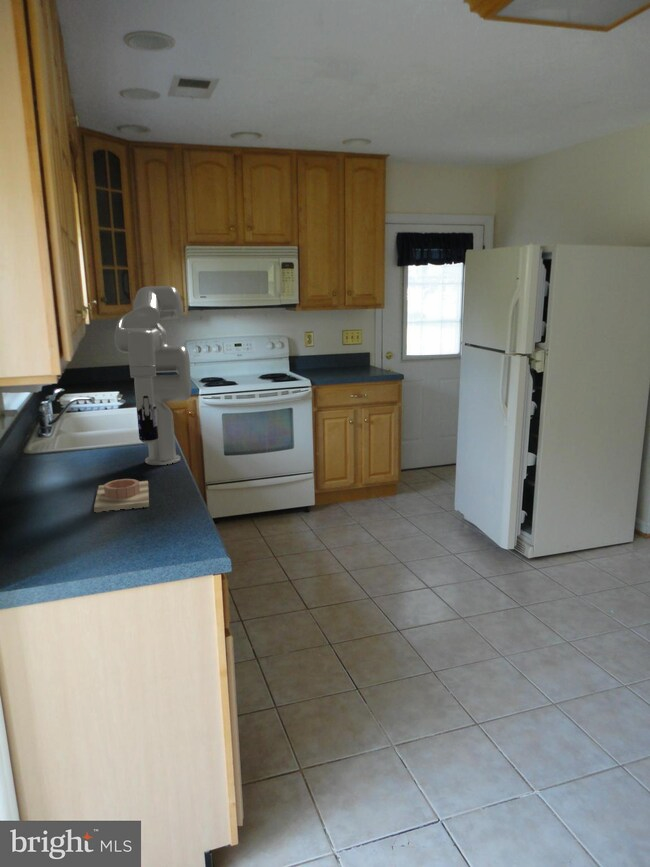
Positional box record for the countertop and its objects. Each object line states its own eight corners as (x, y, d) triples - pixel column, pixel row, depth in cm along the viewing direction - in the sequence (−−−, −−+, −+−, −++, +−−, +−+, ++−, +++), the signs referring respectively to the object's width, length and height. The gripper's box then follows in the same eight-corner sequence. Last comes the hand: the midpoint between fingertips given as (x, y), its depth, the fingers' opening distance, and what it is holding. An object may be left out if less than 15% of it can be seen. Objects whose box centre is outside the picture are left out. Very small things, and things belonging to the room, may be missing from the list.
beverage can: (150, 438, 198) (147, 400, 195) (162, 440, 194) (159, 402, 192) (135, 441, 194) (132, 403, 191) (147, 444, 190) (143, 405, 188)
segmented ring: (106, 490, 195) (105, 480, 194) (139, 486, 197) (139, 477, 196) (104, 500, 185) (103, 490, 184) (139, 496, 188) (138, 486, 187)
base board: (99, 489, 200) (98, 485, 200) (148, 485, 204) (147, 480, 203) (94, 512, 179) (93, 507, 179) (149, 506, 183) (148, 501, 183)
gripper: (129, 369, 196) (134, 426, 200) (130, 375, 180) (135, 437, 184) (154, 367, 198) (159, 424, 202) (157, 374, 182) (162, 435, 186)
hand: (148, 429), depth 193 cm, fingers closed on beverage can, 5 cm apart
